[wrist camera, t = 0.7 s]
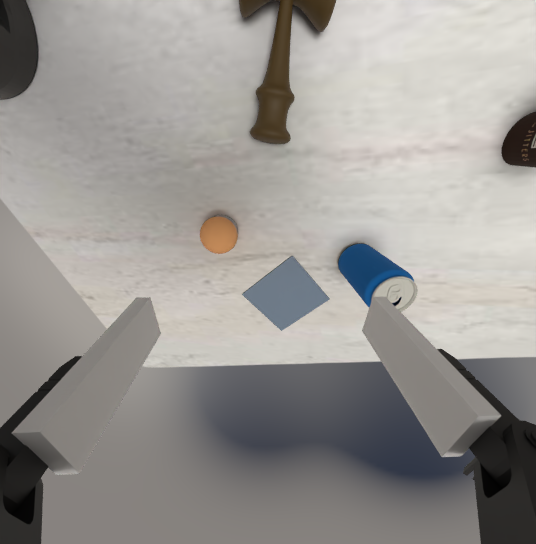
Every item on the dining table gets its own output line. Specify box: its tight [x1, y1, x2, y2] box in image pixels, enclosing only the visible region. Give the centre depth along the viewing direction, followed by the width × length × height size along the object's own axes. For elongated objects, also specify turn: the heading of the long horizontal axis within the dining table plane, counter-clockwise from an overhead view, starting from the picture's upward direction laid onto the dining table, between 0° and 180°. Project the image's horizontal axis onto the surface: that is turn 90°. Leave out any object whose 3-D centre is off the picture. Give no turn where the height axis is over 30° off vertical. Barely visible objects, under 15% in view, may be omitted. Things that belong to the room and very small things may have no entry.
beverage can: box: [338, 244, 418, 312], centre depth 31 cm, size 6×6×12 cm
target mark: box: [242, 256, 329, 331], centre depth 39 cm, size 12×12×1 cm
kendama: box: [239, 0, 336, 144], centre depth 21 cm, size 6×10×20 cm
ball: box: [200, 217, 238, 254], centre depth 31 cm, size 6×6×6 cm
